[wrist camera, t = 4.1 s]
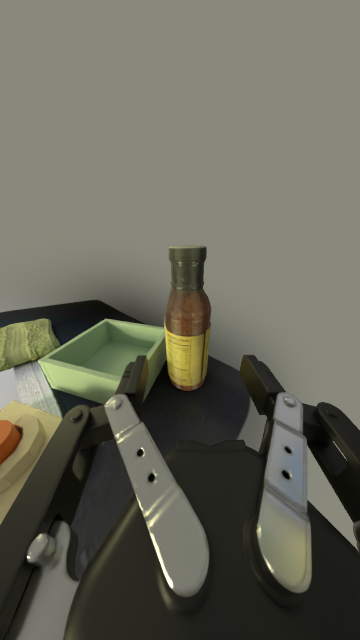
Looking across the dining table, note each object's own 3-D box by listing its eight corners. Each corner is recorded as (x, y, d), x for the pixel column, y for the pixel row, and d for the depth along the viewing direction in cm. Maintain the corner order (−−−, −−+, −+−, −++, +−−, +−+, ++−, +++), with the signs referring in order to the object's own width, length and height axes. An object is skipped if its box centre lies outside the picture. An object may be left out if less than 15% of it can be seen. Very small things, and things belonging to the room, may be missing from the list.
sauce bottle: (188, 359, 30) (192, 244, 21) (213, 379, 25) (233, 245, 16) (159, 376, 26) (149, 245, 17) (183, 403, 22) (187, 246, 13)
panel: (94, 437, 18) (86, 419, 16) (-11, 589, 10) (-47, 582, 8) (20, 409, 21) (7, 391, 19) (-105, 509, 13) (-144, 492, 11)
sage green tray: (170, 351, 32) (170, 328, 29) (136, 415, 20) (130, 385, 18) (110, 340, 35) (105, 318, 33) (52, 388, 24) (37, 360, 21)
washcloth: (52, 323, 42) (47, 312, 41) (64, 353, 31) (58, 340, 29) (-21, 341, 34) (-29, 328, 33) (-41, 391, 23) (-55, 376, 21)
